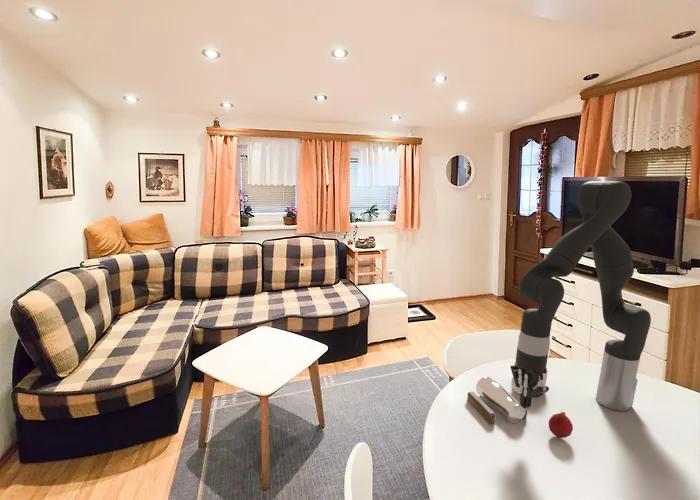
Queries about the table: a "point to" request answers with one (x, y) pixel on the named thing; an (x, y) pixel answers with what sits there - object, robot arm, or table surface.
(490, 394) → the beer glass
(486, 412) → the cradle
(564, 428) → the onion
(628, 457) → the table surface
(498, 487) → the table surface
